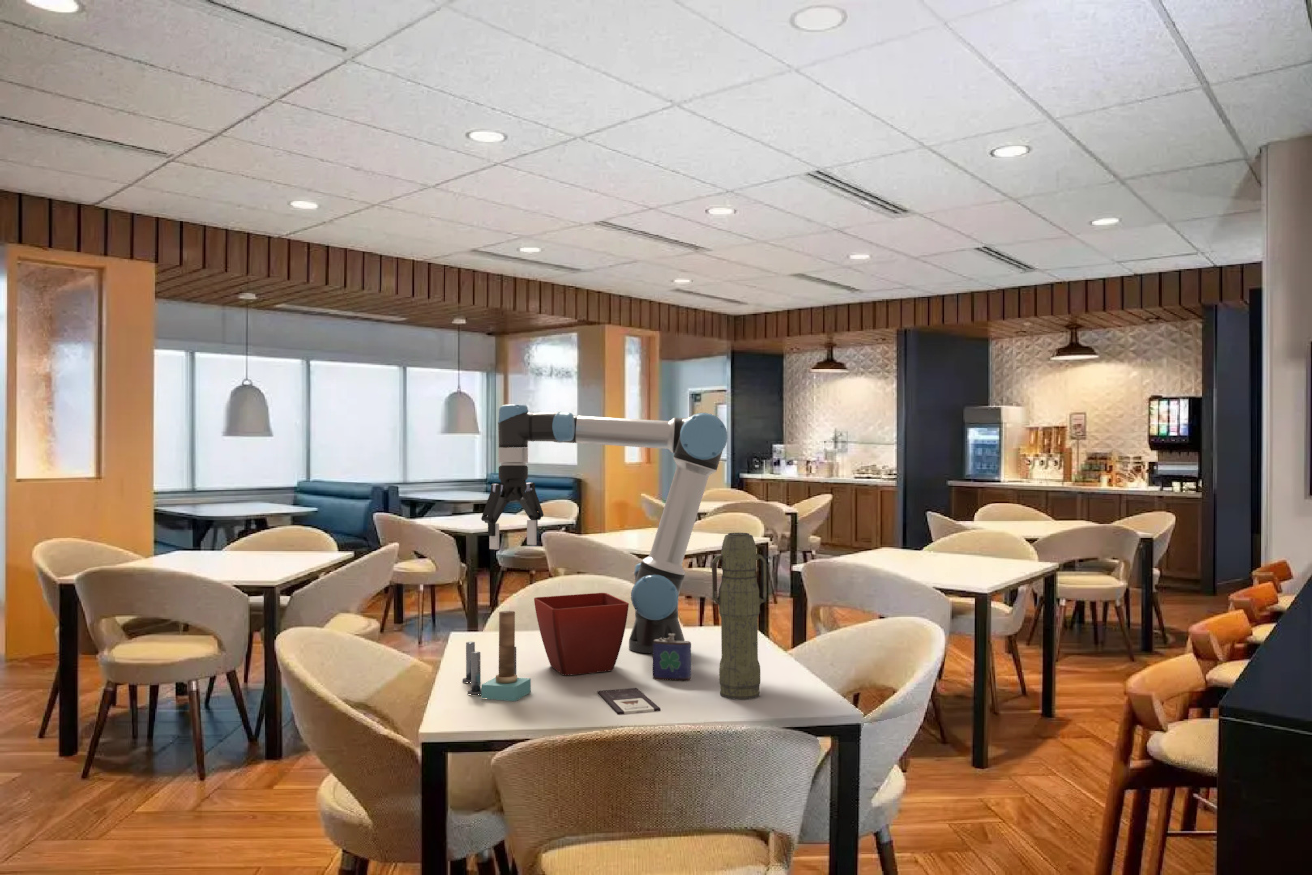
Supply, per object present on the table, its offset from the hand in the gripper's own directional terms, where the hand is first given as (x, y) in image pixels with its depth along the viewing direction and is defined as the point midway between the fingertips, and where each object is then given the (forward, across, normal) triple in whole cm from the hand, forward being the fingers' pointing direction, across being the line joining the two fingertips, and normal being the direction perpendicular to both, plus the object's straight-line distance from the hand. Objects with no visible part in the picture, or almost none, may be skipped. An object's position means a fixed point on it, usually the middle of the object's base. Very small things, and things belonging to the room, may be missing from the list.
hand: (513, 547), depth 244 cm
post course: (+29, +26, +16) cm, 42 cm away
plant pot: (+29, -1, +22) cm, 36 cm away
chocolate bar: (+29, +17, +50) cm, 60 cm away
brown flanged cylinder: (+26, +28, +25) cm, 45 cm away
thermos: (+29, -2, +66) cm, 72 cm away
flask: (+29, -5, +46) cm, 55 cm away
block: (+29, +28, +25) cm, 47 cm away
